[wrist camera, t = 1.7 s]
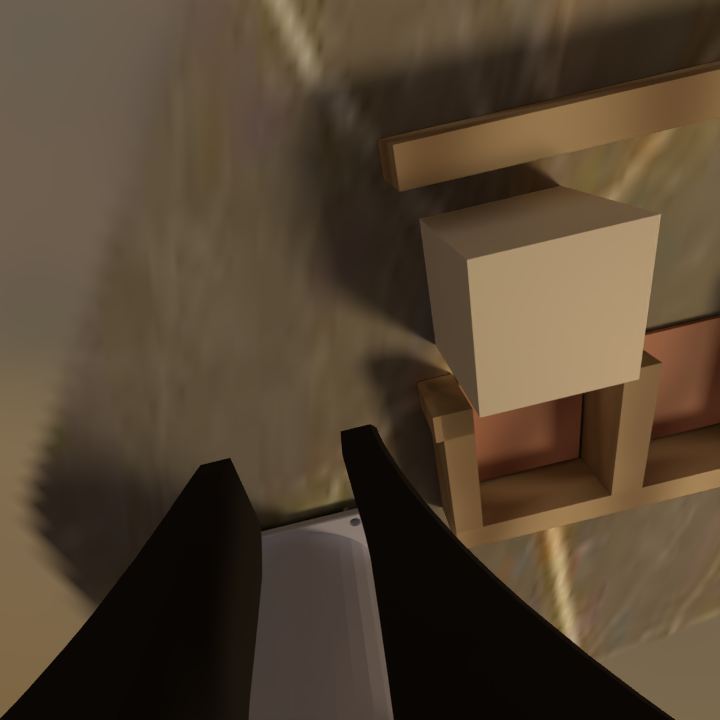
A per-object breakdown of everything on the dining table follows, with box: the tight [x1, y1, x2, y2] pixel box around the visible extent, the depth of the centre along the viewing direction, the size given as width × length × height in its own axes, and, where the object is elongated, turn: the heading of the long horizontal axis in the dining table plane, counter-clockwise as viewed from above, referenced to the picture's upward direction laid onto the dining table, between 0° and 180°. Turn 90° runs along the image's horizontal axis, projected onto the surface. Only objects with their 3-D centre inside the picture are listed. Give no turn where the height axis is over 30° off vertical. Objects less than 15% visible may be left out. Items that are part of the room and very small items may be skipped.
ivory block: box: [419, 186, 661, 418], centre depth 15 cm, size 5×5×5 cm
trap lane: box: [378, 61, 720, 549], centre depth 17 cm, size 21×17×3 cm
